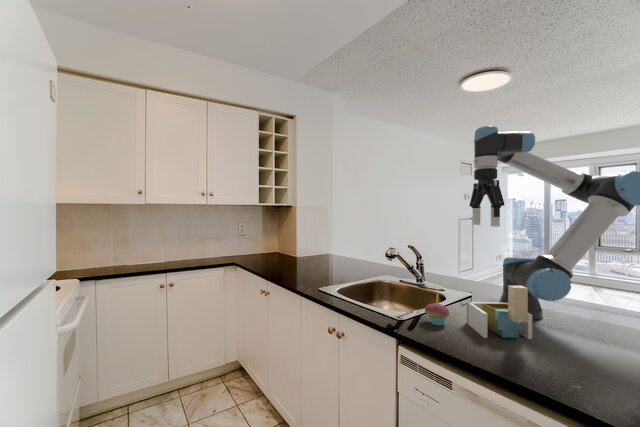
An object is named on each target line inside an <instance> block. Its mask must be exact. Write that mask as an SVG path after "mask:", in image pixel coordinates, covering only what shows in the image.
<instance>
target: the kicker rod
mask: <svg viewBox="0 0 640 427" xmlns="http://www.w3.org/2000/svg"><path fill="white" fill-rule="evenodd" d="M527 317H528V288H526V287H524V286H515V285H508V309H495V328H497V329H498V330H499V334H498V335H499V336H501V337H502V338H515V339H516V338H517V339H519V338H520V337H519V336H520V333H519V330H524V322H527Z"/></svg>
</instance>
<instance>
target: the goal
mask: <svg viewBox="0 0 640 427" xmlns="http://www.w3.org/2000/svg"><path fill="white" fill-rule="evenodd" d="M482 303H499V301H498V302H494V301H493V302H491V301H490V302H489V301H488V302H487V301H486V302H485V301H484V302H483V301H466V324H467V325H469V327H471V328H472V329H473V330H474V331H475V332H476V333H477V334H479V335H480V336H481V337H482V338H484V339H485V338H486V339H487V338H488V328H489V326H488V314H487V313H486V312H484V311H483V307H482ZM499 304H508V303H499ZM519 335H521V336H523V337H524V338H526V339H528V340H533V319H532V315H531V314H530V313H528V317H527V322H524V330H519Z"/></svg>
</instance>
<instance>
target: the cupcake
mask: <svg viewBox="0 0 640 427" xmlns="http://www.w3.org/2000/svg"><path fill="white" fill-rule="evenodd" d="M439 296H440V295H439V293H438V292H437V294H436V302H435V303H434V302H432V303H429V304H427V305H426V306H424V313H425V314H427V317H428V319H429V323H430V324H431V325H435V326H443V325H444V324H445V321H446V319H447V318H448V316H449V315H450V313H449V312H450V311H449V309H448V308H447V306H445V305H444V304H441V303H439Z"/></svg>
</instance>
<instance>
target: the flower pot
mask: <svg viewBox="0 0 640 427" xmlns="http://www.w3.org/2000/svg"><path fill="white" fill-rule="evenodd" d="M482 307H483V311H484V312H486V313H487V314H488V328H489V329H490V331H493V332H494V333H496V334H498V335H499V330H498V329H497V328H495V309H508V304H499V302H498V303H482Z"/></svg>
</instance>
